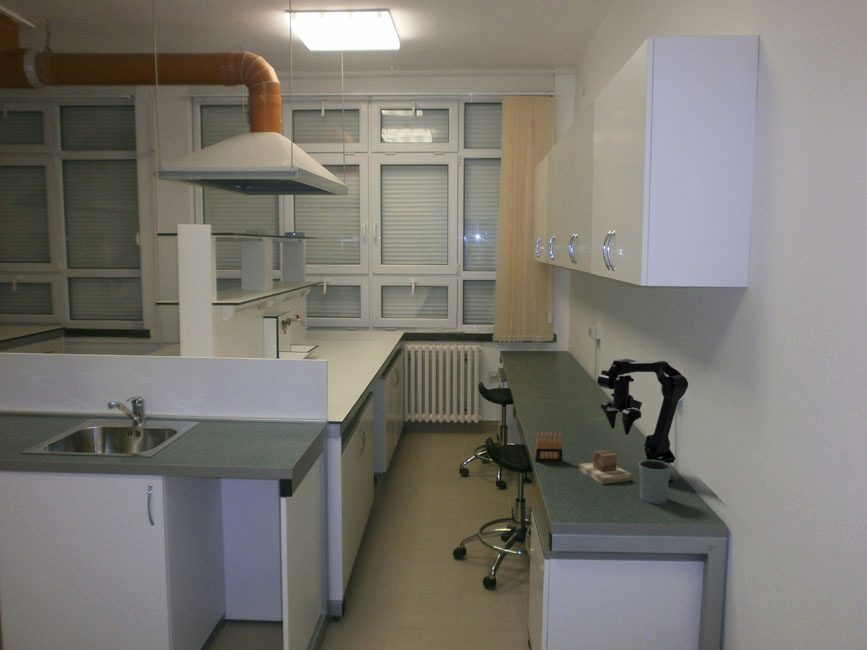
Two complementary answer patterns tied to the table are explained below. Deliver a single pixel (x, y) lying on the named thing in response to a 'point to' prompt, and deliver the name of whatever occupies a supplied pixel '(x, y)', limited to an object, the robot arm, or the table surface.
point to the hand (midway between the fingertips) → (619, 431)
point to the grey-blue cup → (654, 481)
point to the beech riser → (605, 474)
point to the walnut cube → (604, 460)
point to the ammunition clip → (548, 448)
